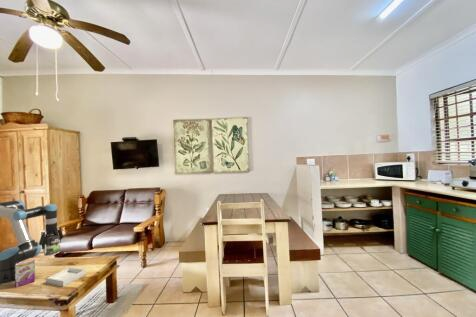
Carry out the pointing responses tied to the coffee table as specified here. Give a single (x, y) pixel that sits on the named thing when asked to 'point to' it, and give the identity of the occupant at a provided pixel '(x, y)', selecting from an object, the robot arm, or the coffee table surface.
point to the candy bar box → (24, 273)
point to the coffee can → (52, 245)
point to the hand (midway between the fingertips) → (51, 249)
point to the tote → (65, 276)
